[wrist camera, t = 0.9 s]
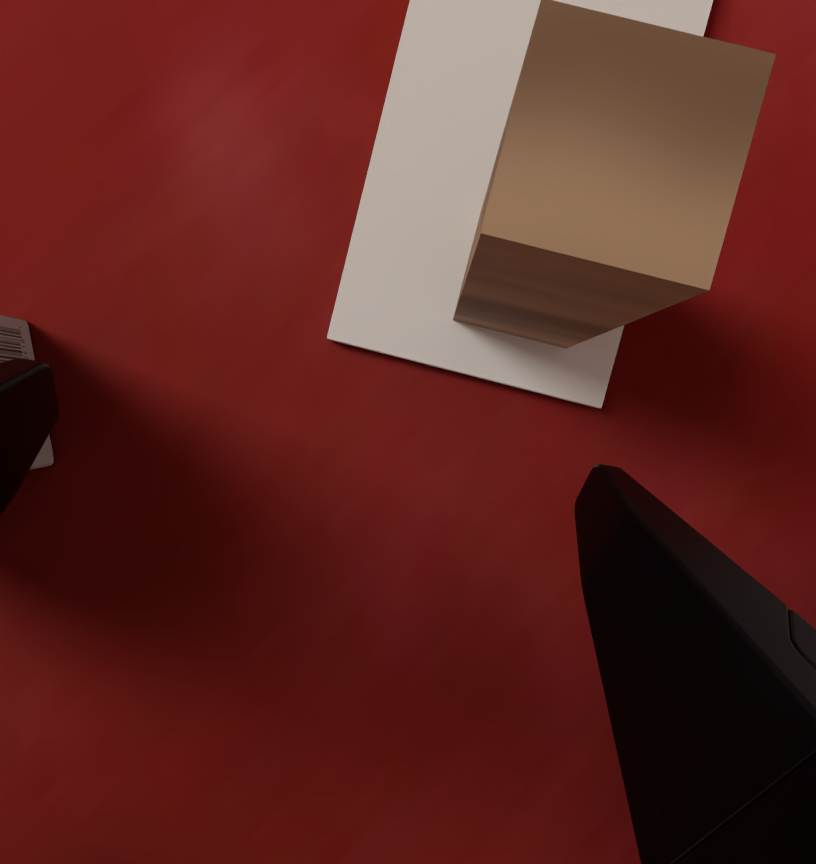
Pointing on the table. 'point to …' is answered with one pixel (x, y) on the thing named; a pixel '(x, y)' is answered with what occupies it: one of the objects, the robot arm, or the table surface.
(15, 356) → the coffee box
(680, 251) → the walnut block
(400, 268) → the mat
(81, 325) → the table surface
